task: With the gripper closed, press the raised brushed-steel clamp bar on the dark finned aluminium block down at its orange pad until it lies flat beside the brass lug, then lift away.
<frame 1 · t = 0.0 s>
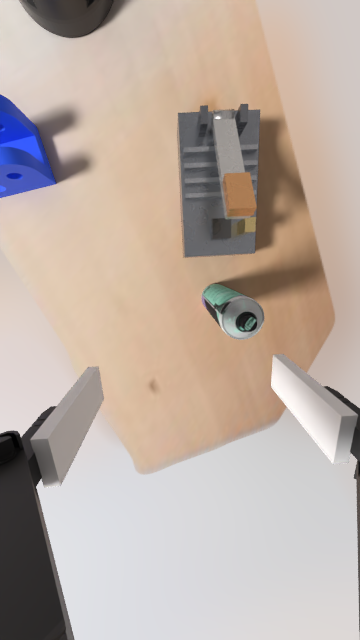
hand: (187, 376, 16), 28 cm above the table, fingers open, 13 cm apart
finned block: (213, 198, 38), on the table
spray can: (214, 296, 43), on the table
clamp bar: (230, 159, 27), point 11 cm above the table, hinge at 30.0°
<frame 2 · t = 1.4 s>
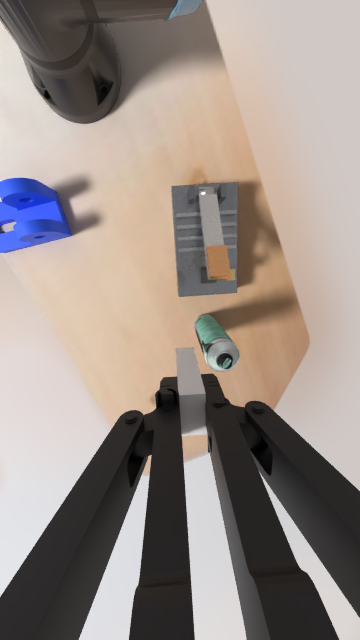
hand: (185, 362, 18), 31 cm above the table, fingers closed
finned block: (202, 245, 45), on the table
bracket: (23, 225, 43), on the table
spray can: (205, 324, 50), on the table
clamp bar: (212, 230, 34), point 11 cm above the table, hinge at 30.0°
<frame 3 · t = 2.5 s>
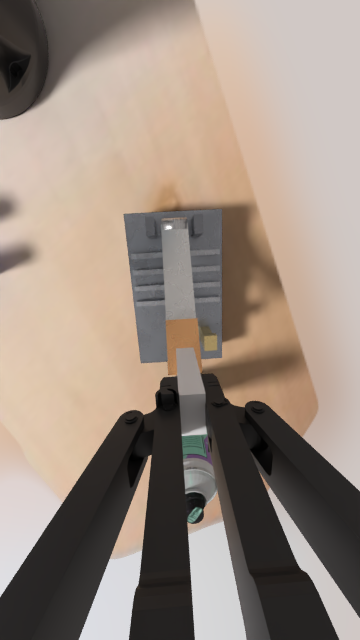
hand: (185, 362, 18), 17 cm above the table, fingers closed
finned block: (176, 288, 33), on the table
spray can: (182, 387, 38), on the table
clamp bar: (178, 288, 22), point 11 cm above the table, hinge at 30.0°, touching gripper
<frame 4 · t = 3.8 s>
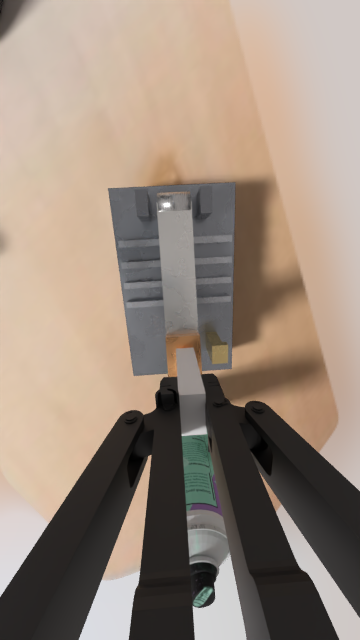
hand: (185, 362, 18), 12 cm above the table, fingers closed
finned block: (176, 284, 28), on the table
spray can: (183, 399, 33), on the table
clamp bar: (179, 293, 19), point 9 cm above the table, hinge at 10.3°, touching gripper
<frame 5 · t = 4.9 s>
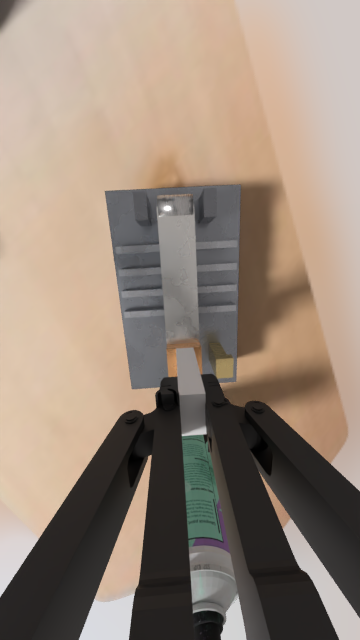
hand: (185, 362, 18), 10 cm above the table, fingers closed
finned block: (177, 292, 26), on the table
spray can: (184, 412, 31), on the table
clamp bar: (180, 302, 18), point 8 cm above the table, hinge at 3.9°, touching gripper
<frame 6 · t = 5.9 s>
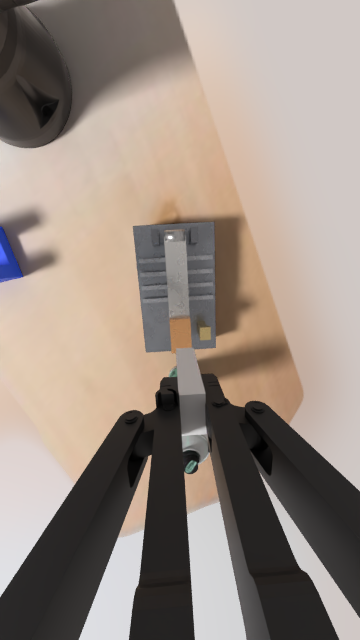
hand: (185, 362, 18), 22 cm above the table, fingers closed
finned block: (176, 288, 38), on the table
spray can: (182, 376, 43), on the table
clamp bar: (178, 292, 31), point 8 cm above the table, hinge at 3.9°
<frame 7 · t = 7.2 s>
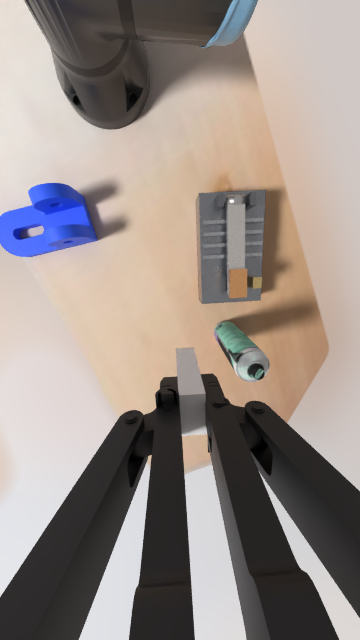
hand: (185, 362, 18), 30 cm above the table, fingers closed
finned block: (225, 251, 45), on the table
bracket: (48, 230, 43), on the table
spray can: (224, 331, 50), on the table
clamp bar: (236, 248, 37), point 8 cm above the table, hinge at 3.9°
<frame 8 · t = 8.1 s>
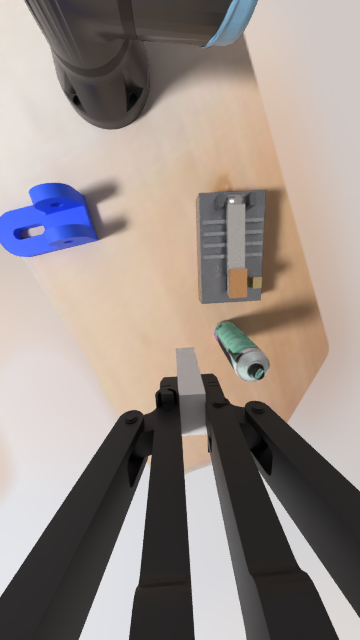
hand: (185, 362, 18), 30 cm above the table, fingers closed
finned block: (225, 251, 45), on the table
bracket: (49, 230, 43), on the table
spray can: (224, 331, 50), on the table
clamp bar: (236, 248, 37), point 8 cm above the table, hinge at 3.9°
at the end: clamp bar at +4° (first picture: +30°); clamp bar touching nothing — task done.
